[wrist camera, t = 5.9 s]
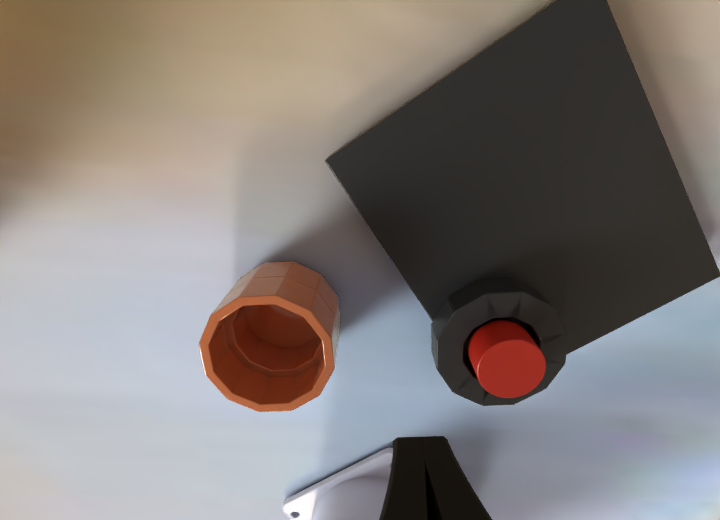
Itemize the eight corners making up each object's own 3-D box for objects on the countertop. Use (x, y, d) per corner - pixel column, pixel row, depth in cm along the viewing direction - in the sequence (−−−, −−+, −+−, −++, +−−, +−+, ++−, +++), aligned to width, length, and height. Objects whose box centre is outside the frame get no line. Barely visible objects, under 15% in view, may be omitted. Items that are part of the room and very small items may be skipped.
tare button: (541, 355, 19) (558, 378, 17) (486, 383, 19) (496, 409, 18) (513, 308, 18) (527, 327, 16) (456, 339, 19) (464, 361, 17)
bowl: (360, 322, 21) (359, 373, 17) (277, 371, 22) (255, 431, 18) (298, 237, 20) (279, 270, 16) (212, 294, 21) (172, 339, 17)
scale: (698, 265, 20) (753, 290, 17) (463, 387, 23) (476, 426, 20) (577, -16, 16) (621, -44, 14) (312, 168, 19) (302, 177, 16)
